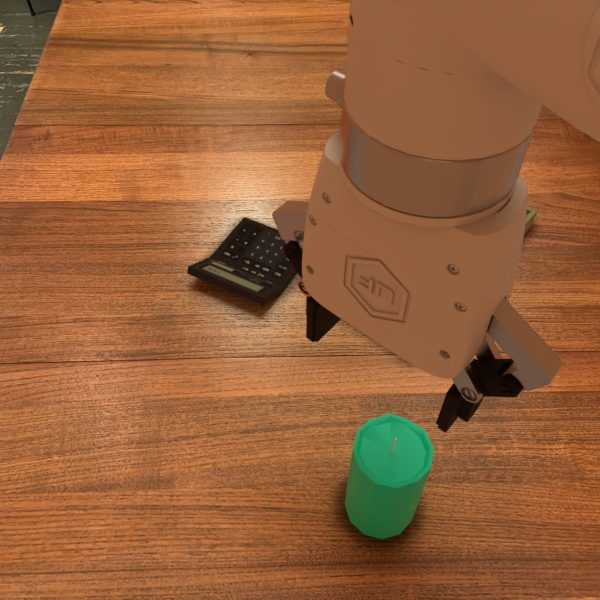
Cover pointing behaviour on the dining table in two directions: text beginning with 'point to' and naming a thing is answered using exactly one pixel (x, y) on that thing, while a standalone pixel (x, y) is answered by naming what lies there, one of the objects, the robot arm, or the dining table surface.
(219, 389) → the dining table surface
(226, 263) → the calculator
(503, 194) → the robot arm
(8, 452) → the dining table surface
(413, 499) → the candle
